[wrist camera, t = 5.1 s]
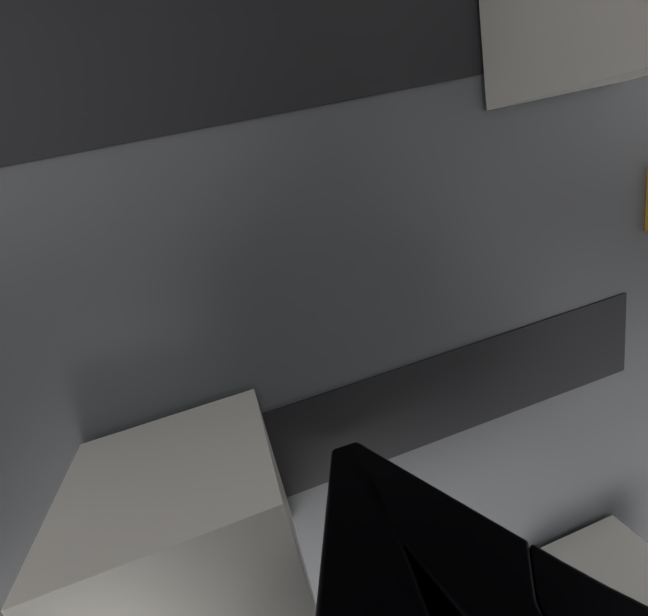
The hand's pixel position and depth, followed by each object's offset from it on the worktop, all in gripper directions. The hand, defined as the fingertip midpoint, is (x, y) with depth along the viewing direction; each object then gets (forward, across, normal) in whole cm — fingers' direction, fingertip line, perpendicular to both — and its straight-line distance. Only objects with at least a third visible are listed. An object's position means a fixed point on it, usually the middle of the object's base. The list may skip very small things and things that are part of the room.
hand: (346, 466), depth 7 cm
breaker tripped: (+1, +3, 0) cm, 3 cm away
